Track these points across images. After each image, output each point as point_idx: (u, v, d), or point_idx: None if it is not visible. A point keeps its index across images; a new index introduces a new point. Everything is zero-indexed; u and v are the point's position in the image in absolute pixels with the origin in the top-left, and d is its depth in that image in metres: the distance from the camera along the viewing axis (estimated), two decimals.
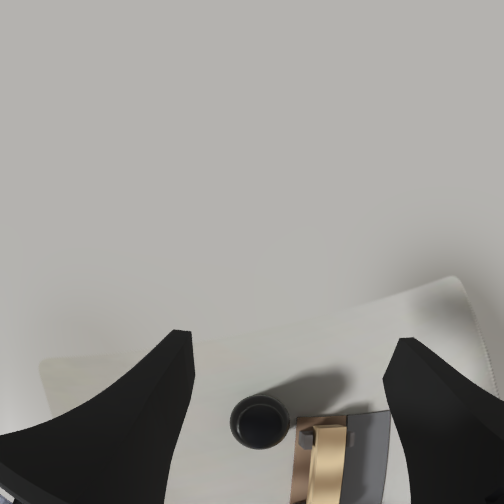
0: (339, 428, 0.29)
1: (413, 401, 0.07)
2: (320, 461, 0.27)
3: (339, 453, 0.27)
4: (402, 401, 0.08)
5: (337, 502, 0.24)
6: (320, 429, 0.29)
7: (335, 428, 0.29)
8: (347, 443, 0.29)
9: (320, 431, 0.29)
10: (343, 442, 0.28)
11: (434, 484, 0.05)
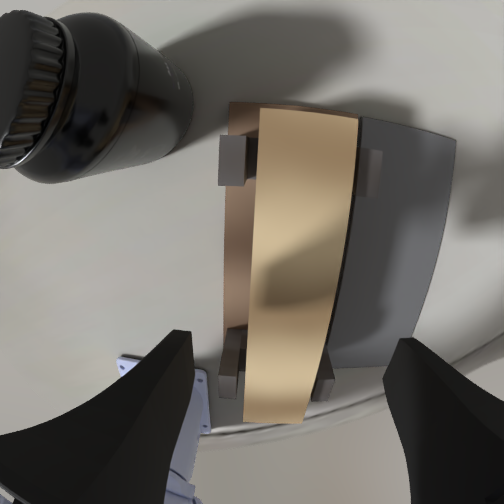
0: (333, 119, 0.09)
1: (413, 401, 0.07)
2: (265, 234, 0.11)
3: (331, 213, 0.10)
4: (402, 401, 0.08)
5: (313, 368, 0.13)
6: (264, 111, 0.09)
7: (319, 116, 0.09)
8: (359, 184, 0.11)
9: (264, 119, 0.09)
10: (346, 174, 0.10)
11: (434, 484, 0.05)
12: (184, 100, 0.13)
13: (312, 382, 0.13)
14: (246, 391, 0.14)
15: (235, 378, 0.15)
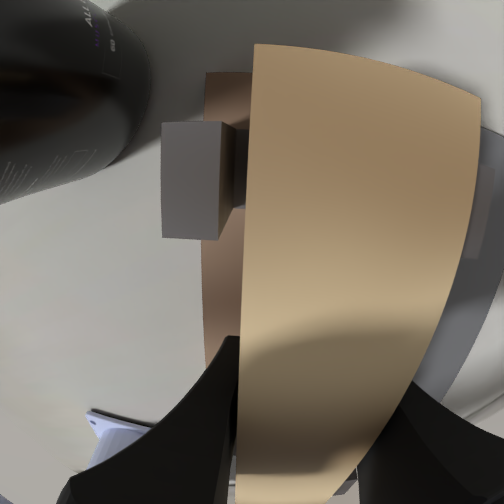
0: (436, 88, 0.03)
1: None
2: (266, 354, 0.05)
3: (413, 310, 0.04)
4: None
5: (333, 488, 0.07)
6: (265, 53, 0.03)
7: (405, 77, 0.03)
8: None
9: (265, 71, 0.03)
10: (456, 224, 0.04)
11: (381, 499, 0.05)
12: (127, 72, 0.06)
13: (329, 496, 0.07)
14: None
15: None
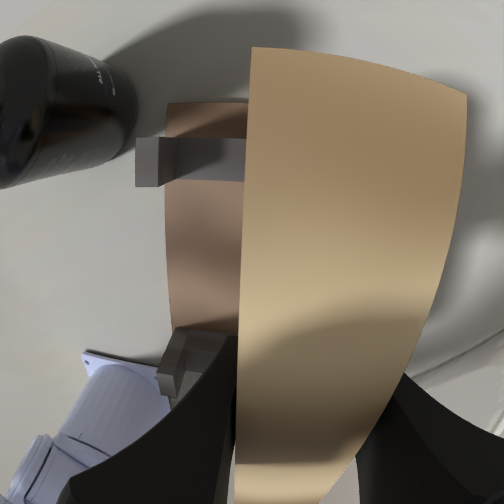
0: (422, 85, 0.03)
1: None
2: (263, 338, 0.05)
3: (404, 296, 0.04)
4: None
5: (331, 480, 0.07)
6: (261, 55, 0.03)
7: (392, 75, 0.03)
8: None
9: (261, 72, 0.03)
10: (443, 214, 0.04)
11: (382, 499, 0.05)
12: (122, 105, 0.12)
13: (327, 489, 0.08)
14: (237, 496, 0.08)
15: (172, 377, 0.14)
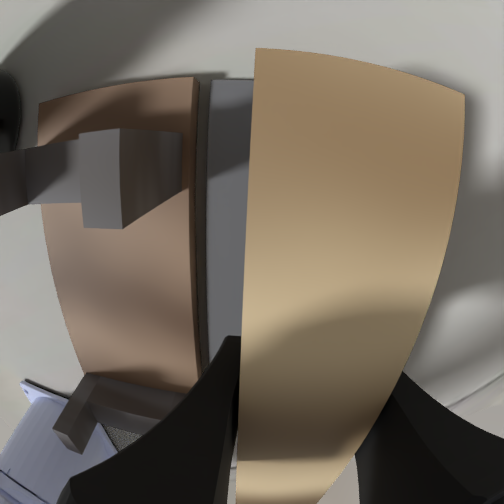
0: (421, 86, 0.03)
1: None
2: (266, 333, 0.05)
3: (404, 291, 0.05)
4: None
5: (332, 477, 0.07)
6: (265, 56, 0.03)
7: (392, 76, 0.03)
8: (86, 204, 0.05)
9: (265, 72, 0.03)
10: (442, 211, 0.04)
11: (381, 499, 0.05)
12: None
13: (328, 486, 0.08)
14: (238, 494, 0.08)
15: (67, 436, 0.09)
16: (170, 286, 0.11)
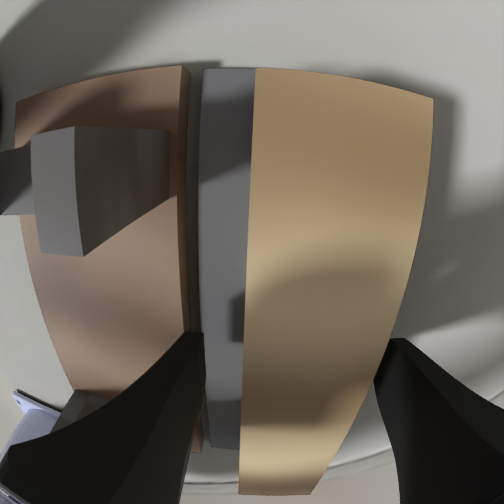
0: (393, 94, 0.04)
1: (402, 403, 0.07)
2: (266, 304, 0.06)
3: (383, 267, 0.06)
4: (392, 402, 0.08)
5: (330, 454, 0.08)
6: (263, 74, 0.04)
7: (368, 87, 0.04)
8: (42, 225, 0.04)
9: (263, 88, 0.04)
10: (413, 198, 0.05)
11: (423, 488, 0.05)
12: None
13: (326, 465, 0.09)
14: (241, 473, 0.09)
15: None
16: (159, 306, 0.09)
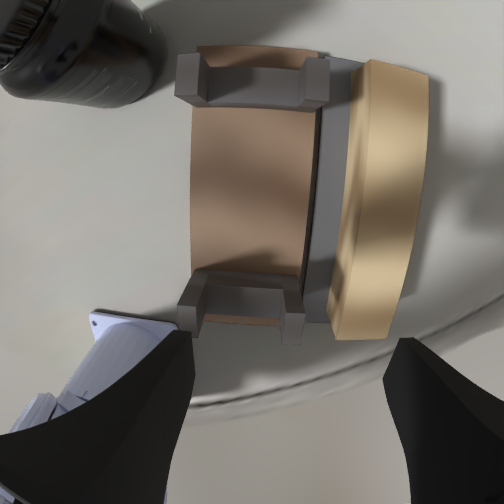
0: (414, 73, 0.11)
1: (413, 401, 0.07)
2: (376, 144, 0.13)
3: (417, 135, 0.12)
4: (402, 401, 0.08)
5: (403, 269, 0.15)
6: (373, 62, 0.11)
7: (405, 70, 0.11)
8: (308, 88, 0.10)
9: (373, 66, 0.11)
10: (424, 110, 0.12)
11: (434, 484, 0.05)
12: (156, 44, 0.12)
13: (401, 286, 0.15)
14: (347, 299, 0.16)
15: (194, 309, 0.14)
16: (297, 174, 0.16)
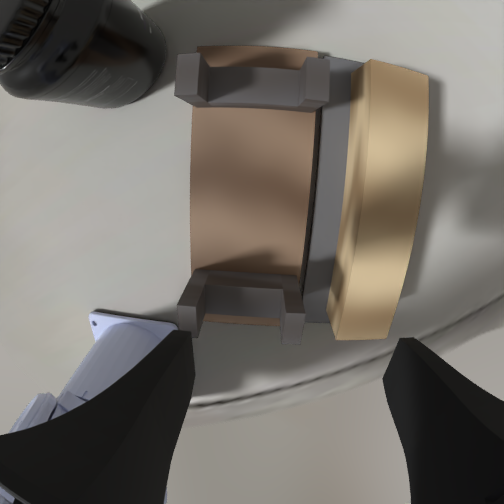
0: (414, 73, 0.11)
1: (413, 401, 0.07)
2: (376, 144, 0.13)
3: (417, 135, 0.12)
4: (402, 401, 0.08)
5: (403, 269, 0.15)
6: (373, 62, 0.11)
7: (405, 70, 0.11)
8: (308, 88, 0.10)
9: (373, 66, 0.11)
10: (424, 110, 0.12)
11: (434, 484, 0.05)
12: (156, 44, 0.12)
13: (401, 286, 0.15)
14: (347, 299, 0.16)
15: (194, 309, 0.14)
16: (297, 174, 0.16)
